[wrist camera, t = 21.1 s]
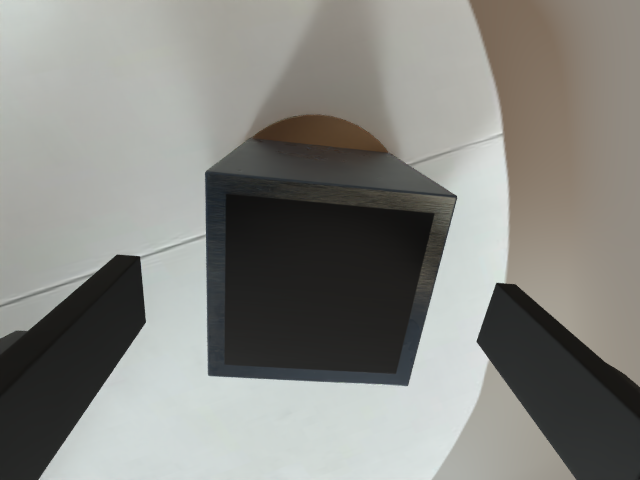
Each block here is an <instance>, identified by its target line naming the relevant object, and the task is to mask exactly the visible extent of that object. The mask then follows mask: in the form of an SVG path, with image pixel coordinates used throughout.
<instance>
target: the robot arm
mask: <svg viewBox="0 0 640 480" xmlns="http://www.w3.org/2000/svg"><path fill="white" fill-rule="evenodd" d="M145 323H146V318H145V307H144V296H143V284H142V273H141V262H140V256H129V255H116V256H115V257H114V258H113V259H111V260H110V261H109V262H108V263H107V264H106V265H104V266H103V267H102V268H101V269H100V270H99V271H97V272H96V273H95V274H94V275H93V276H92V277H90V278H89V279H88V280H87V281H86V282H85V283H83V284H82V285H81V286H80V287H79V288H78V289H76V290H75V291H74V292H73V293H72V294H71V295H69V296H68V297H67V298H66V299H65V300H64V301H62V302H61V303H60V304H59V305H58V306H57V307H55V308H54V309H53V310H52V311H51V312H50V313H48V314H47V315H46V316H45V317H44V318H43V319H42V320H40V321H39V322H38V323H37V324H36V325H35V326H33V327H32V328H31V329H30V330H29V331H15V332H13V333H11V334H9V335H7V336H5V337H3V338H1V339H0V480H38V479H39V478H40V476H41V475H42V473H43V472H44V470H45V469H46V467H47V466H48V465H49V463H50V462H51V460H52V459H53V457H54V456H55V454H56V453H57V451H58V450H59V448H60V447H61V446H62V444H63V443H64V441H65V440H66V438H67V437H68V435H69V434H70V432H71V431H72V430H73V428H74V427H75V425H76V424H77V422H78V421H79V419H80V418H81V416H82V415H83V413H84V412H85V411H86V409H87V408H88V406H89V405H90V403H91V402H92V400H93V399H94V397H95V396H96V394H97V393H98V392H99V390H100V389H101V387H102V386H103V384H104V383H105V381H106V380H107V378H108V377H109V376H110V374H111V373H112V371H113V370H114V368H115V367H116V365H117V364H118V362H119V361H120V359H121V358H122V357H123V355H124V354H125V352H126V351H127V349H128V348H129V346H130V345H131V343H132V342H133V340H134V339H135V338H136V336H137V335H138V333H139V332H140V330H141V329H142V327H143V326H144V324H145ZM477 343H478V344H479V346H480V347H481V349H482V350H483V351H484V353H485V354H486V355H487V357H488V358H489V360H490V361H491V362H492V364H493V365H494V366H495V368H496V369H497V371H498V372H499V373H500V375H501V376H502V377H503V379H504V380H505V382H506V383H507V384H508V386H509V387H510V389H511V390H512V391H513V393H514V394H515V395H516V397H517V398H518V400H519V401H520V402H521V404H522V405H523V406H524V408H525V409H526V411H527V412H528V413H529V415H530V416H531V417H532V419H533V420H534V422H535V423H536V424H537V426H538V427H539V429H540V430H541V431H542V433H543V434H544V435H545V437H546V438H547V440H548V441H549V442H550V444H551V445H552V446H553V448H554V449H555V451H556V452H557V453H558V455H559V456H560V458H561V459H562V460H563V462H564V463H565V464H566V466H567V467H568V469H569V470H570V471H571V473H572V474H573V475H574V477H575V478H576V480H640V387H639V386H638V385H636V384H635V383H634V382H633V381H632V380H630V378H628V377H627V376H626V375H625V374H623V373H622V372H620V371H618V370H617V369H615V368H614V367H612V366H610V365H609V364H607V363H605V362H604V361H603V360H602V359H601V358H599V357H598V356H597V355H596V354H595V353H594V352H593V351H592V350H590V349H589V348H588V347H587V346H586V345H585V344H583V343H582V342H581V341H580V340H579V339H578V338H577V337H575V336H574V335H573V334H572V333H571V332H570V331H568V330H567V329H566V328H565V327H564V326H563V325H562V324H560V323H559V322H558V321H557V320H556V319H554V318H553V317H552V316H551V315H550V314H549V313H548V312H547V311H545V310H544V309H543V308H542V307H541V306H539V305H538V304H537V303H536V302H535V301H534V300H533V299H532V298H530V297H529V296H528V295H527V294H526V293H525V292H523V291H522V290H521V289H520V288H519V287H518V286H517V285H515V284H504V283H496V286H495V289H494V291H493V294H492V297H491V300H490V303H489V306H488V309H487V312H486V315H485V318H484V321H483V324H482V327H481V330H480V333H479V336H478V339H477Z"/></svg>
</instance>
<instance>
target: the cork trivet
mask: <svg viewBox="0 0 640 480" xmlns="http://www.w3.org/2000/svg"><path fill="white" fill-rule="evenodd" d="M252 138H255V139H265V140H274V141H283V142H293V143H302V144H311V145H321V146H330V147H340V148H349V149H358V150H368V151H377V152H386V153H389V152H388V151H387V150H386V148H385V147H384V146H383V145H382V144H381V143H380V142H379V141H378V140H377V139H376V138H375V137H374V136H372V135H371V134H370V133H369V132H367V131H365V130H364V129H362V128H361V127H359V126H357V125H355V124H353V123H351V122H348V121H346V120H343V119H340V118H336V117H333V116H326V115H301V116H294V117H290V118H287V119H283V120H280V121H278V122H276V123H274V124H271V125H269V126H268V127H266V128H265V129H263V130H261V131H260V132H258V133H257V134H256V135H255V136H253V137H252Z"/></svg>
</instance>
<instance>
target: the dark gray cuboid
mask: <svg viewBox="0 0 640 480" xmlns="http://www.w3.org/2000/svg"><path fill="white" fill-rule="evenodd" d="M205 194H206V268H207V342H208V376H219V377H238V378H258V379H277V380H297V381H316V382H335V383H355V384H374V385H394V386H408V384H409V380H410V376H411V372H412V368H413V365H414V361H415V357H416V353H417V349H418V345H419V342H420V338H421V334H422V330H423V326H424V322H425V319H426V315H427V311H428V307H429V303H430V300H431V296H432V292H433V288H434V284H435V280H436V277H437V273H438V269H439V265H440V261H441V258H442V254H443V250H444V246H445V242H446V238H447V235H448V231H449V227H450V223H451V219H452V216H453V212H454V208H455V204H456V200H457V196H456V195H455V194H453V193H451V192H450V191H448V190H447V189H445V188H444V187H442V186H440V185H439V184H437V183H436V182H434V181H433V180H431V179H430V178H428V177H426V176H425V175H423V174H422V173H420V172H419V171H417V170H415V169H414V168H412V167H411V166H409V165H408V164H406V163H404V162H403V161H401V160H400V159H398V158H397V157H395V156H393V155H392V154H390V153H386V152H377V151H368V150H358V149H349V148H340V147H330V146H321V145H311V144H302V143H293V142H283V141H274V140H265V139H255V138H250V139H248V140H247V141H246V142H244V143H243V144H242V145H240V146H239V147H238V148H236V149H235V150H234V151H232V152H231V153H230V154H228V155H227V156H226V157H224V158H223V159H222V160H220V161H219V162H218V163H216V164H215V165H214V166H212V167H211V168H210V169H208V170H207V171H206V172H205Z"/></svg>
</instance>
